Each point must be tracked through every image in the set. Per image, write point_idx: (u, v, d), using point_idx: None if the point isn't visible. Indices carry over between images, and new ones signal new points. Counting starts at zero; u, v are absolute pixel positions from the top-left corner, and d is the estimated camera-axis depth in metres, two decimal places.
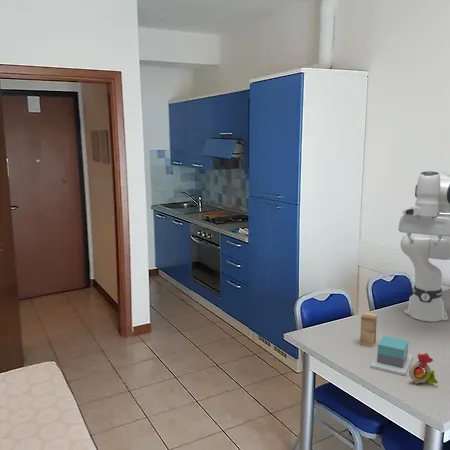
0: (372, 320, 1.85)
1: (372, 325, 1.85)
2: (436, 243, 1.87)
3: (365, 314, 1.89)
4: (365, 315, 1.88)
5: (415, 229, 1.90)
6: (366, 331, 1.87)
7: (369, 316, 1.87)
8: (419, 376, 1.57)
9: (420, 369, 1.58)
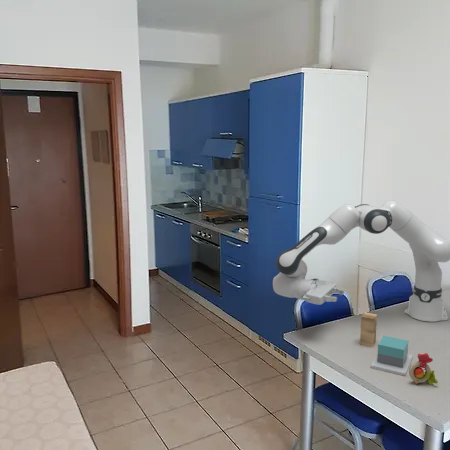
0: (372, 320, 1.85)
1: (372, 325, 1.85)
2: None
3: (365, 314, 1.89)
4: (365, 315, 1.88)
5: None
6: (366, 331, 1.87)
7: (369, 316, 1.87)
8: (419, 376, 1.57)
9: (420, 369, 1.58)
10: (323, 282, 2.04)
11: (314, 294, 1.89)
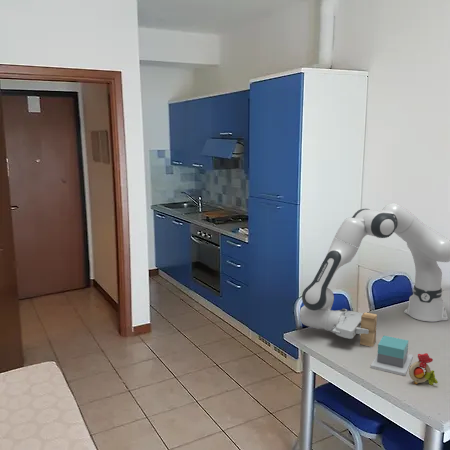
0: (372, 320, 1.85)
1: (372, 325, 1.85)
2: None
3: (365, 314, 1.89)
4: (365, 315, 1.88)
5: None
6: None
7: (369, 315, 1.87)
8: (419, 376, 1.57)
9: (420, 369, 1.58)
10: (351, 313, 1.99)
11: (344, 327, 1.85)
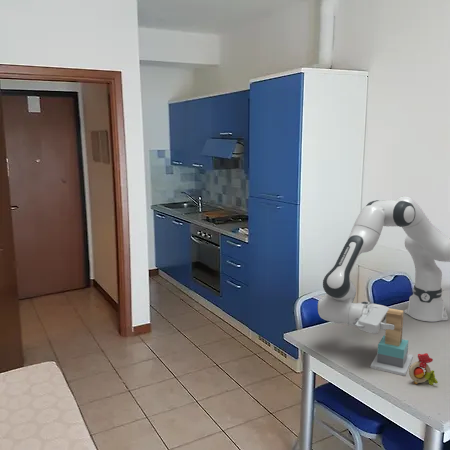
0: (399, 317, 1.67)
1: (399, 322, 1.68)
2: None
3: (390, 310, 1.71)
4: (391, 311, 1.70)
5: None
6: None
7: (395, 312, 1.70)
8: (419, 376, 1.57)
9: (420, 369, 1.58)
10: (374, 306, 1.81)
11: (368, 321, 1.67)
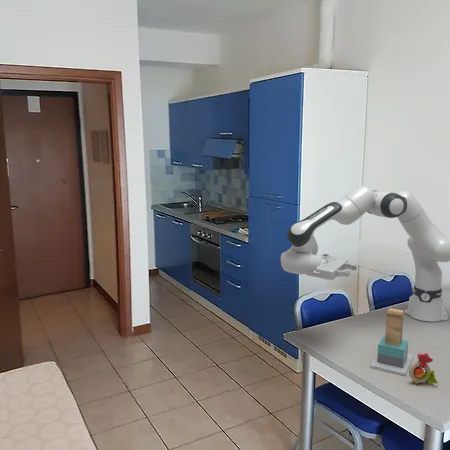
0: (399, 317, 1.67)
1: (399, 322, 1.68)
2: None
3: (390, 310, 1.71)
4: (391, 311, 1.70)
5: None
6: (392, 329, 1.69)
7: (395, 312, 1.70)
8: (419, 376, 1.57)
9: (420, 369, 1.58)
10: (334, 258, 1.91)
11: (325, 269, 1.77)
